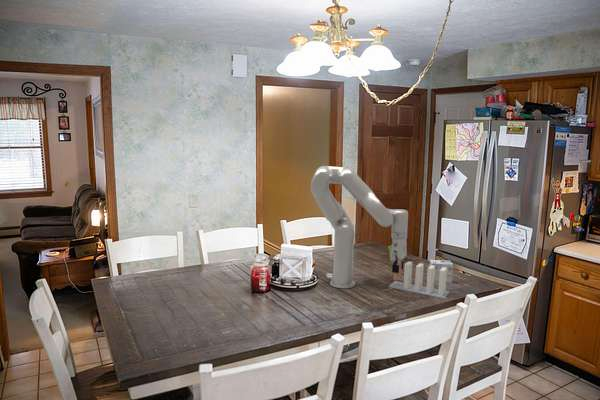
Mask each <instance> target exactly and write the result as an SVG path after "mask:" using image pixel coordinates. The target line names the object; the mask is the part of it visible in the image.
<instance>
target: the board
mask: <svg viewBox="0 0 600 400" xmlns="http://www.w3.org/2000/svg"><path fill="white" fill-rule="evenodd" d="M403 285H404V282H402V281H397V280H393V281H392V282H391V283H390V285H388V288H392V289H397V290H402V291H407V292H413V293H418V294H423V295H426V296H432V297H437V298H441V299H442V298H443V299H446V297H447V296H448V295H449V293H450V291H448V290H446V291H445V293H444V295H443V296H439V295H438V289H437V288H434V290H433V291H432V292H431V294H429V293H426V287H427V286H424V285H422V288H421V290H420V291H415V284H412V283H411V286H410V287H409V288H408V289H404V288H403Z"/></svg>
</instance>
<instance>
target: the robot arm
mask: <svg viewBox="0 0 600 400" xmlns="http://www.w3.org/2000/svg"><path fill="white" fill-rule="evenodd" d="M330 184H333V185H334V184H337V185H338V184H339V185H340V184H341V185H342V186H343V187H344V189H345V190H347V192H348V193H349V194H351V196H352V197H353V198H354V199H355V200H356V201H357V202H358V204H359V205H360V206H361V207H362V208H364V209H365V210H366V212H367V213H368V214H369V216H370V215H371V217H372V218H373V220H375V221H376V222H377V224H379V226H381V227H384V228H387V227H388V228H389V227H390V226H391V239H392V241H391V245H392V250H391V257H392V262H391V266H392V267H391V268H392V269H391V272H392V273H393V274H394V273H399V265H398V264H399V259H400V260H401V259H402V270H403V271H404V261H405V259H404V258H405V257H406V256H408V255H407V254H408V253H407V252H408V250H407V245H408V244H407V243H408V242H407V239H408V229H409V228H408V227H409V226H408V225H409V224H408V223H409V212H408V210H406V209H402V208H401V209H399V208H396V209H391V208H387V207H386V206H385V205H384V204H383V203H382V202H381V200H380V199H379V198H378V197H377V196H376V194H375V193H374V191H373V190H372V189H371V188H370V186H369V185H367V183H365V182H364V181H363V180H362V178H361V177H360V176H359V175H358V174H357V173H356V172H355V170H353V168H350V167H343V166H329V165H321V166H320V167H318V168H317V169H316V170H315V173H314V174H313V177H312V179H311V182H310V192H311V194H312V196H313V198H314V200H315V202H316V203H317V205H318V207H319V209H320V211H321V213H322V215H323V216H324V218H325V219H326V220H327V221H328V222H329V223H330V225H331V226H332V228H333V230H334V237H333V238H334V239H333V240H334V241H333V242H334V243H333V270H332V271H333V273H330V272H326V275H325V276H326V279H330V281H329V285H330V286H332V287H334V288H337V289H351V288H353V287H355V286H356V282H355V280H353V273H354V272H353V271H354V247H355V234H356V233H355V228H354V225H353V222H352V220H351V219H350V217H349V216H348V214H347V212H346V211H345V209H344V207H343V205H342V204H341V203H340V202H339V201H337V200H336V198H335V196H334V195H333V193H332V192H331V190H330V187H329V185H330ZM396 257H398V259H397V258H396ZM396 260H397V261H396Z"/></svg>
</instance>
